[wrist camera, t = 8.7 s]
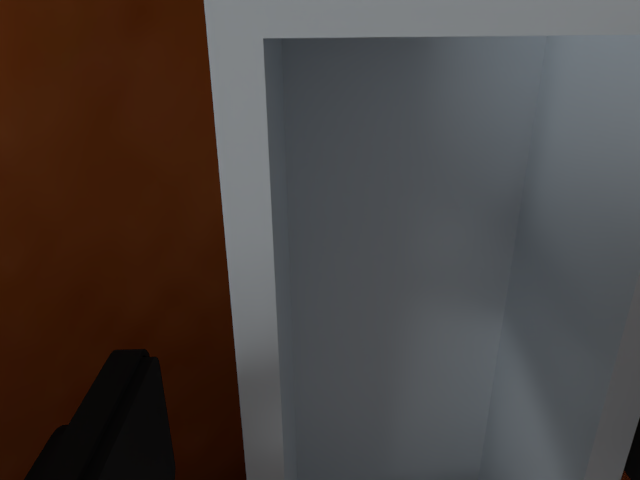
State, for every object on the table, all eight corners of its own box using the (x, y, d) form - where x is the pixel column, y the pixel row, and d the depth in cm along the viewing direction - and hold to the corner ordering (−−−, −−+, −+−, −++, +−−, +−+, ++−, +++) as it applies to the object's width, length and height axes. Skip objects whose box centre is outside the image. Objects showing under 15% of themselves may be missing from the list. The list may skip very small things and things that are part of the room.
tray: (249, -3, 9) (201, -24, 5) (571, -6, 9) (776, -29, 5) (279, 526, 15) (268, 720, 11) (482, 521, 15) (550, 712, 11)
